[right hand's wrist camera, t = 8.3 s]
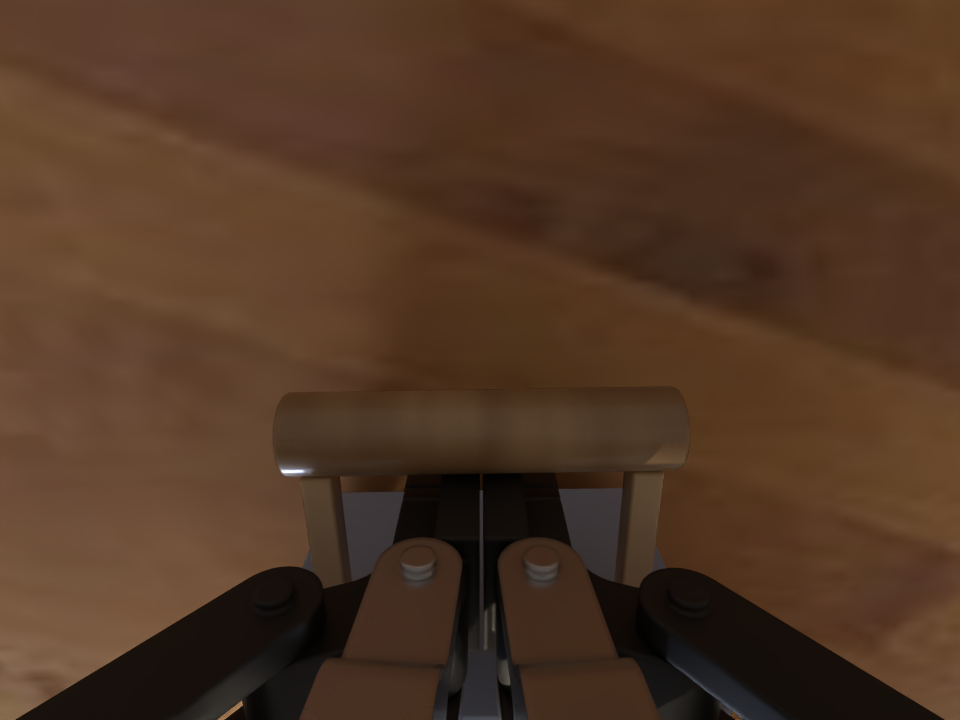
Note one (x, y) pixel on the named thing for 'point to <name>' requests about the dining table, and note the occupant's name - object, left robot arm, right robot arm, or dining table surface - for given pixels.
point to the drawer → (483, 450)
